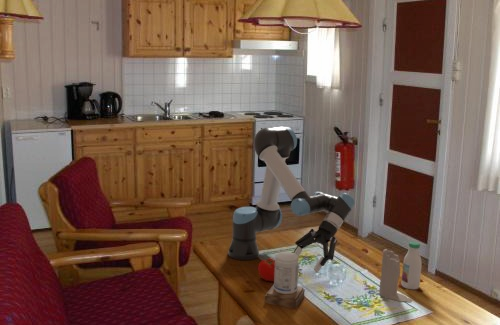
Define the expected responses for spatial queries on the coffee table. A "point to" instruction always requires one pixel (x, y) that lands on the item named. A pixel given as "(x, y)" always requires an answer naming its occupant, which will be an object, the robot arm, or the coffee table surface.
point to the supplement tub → (286, 272)
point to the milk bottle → (412, 267)
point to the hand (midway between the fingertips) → (303, 265)
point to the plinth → (285, 298)
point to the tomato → (267, 269)
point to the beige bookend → (391, 277)
